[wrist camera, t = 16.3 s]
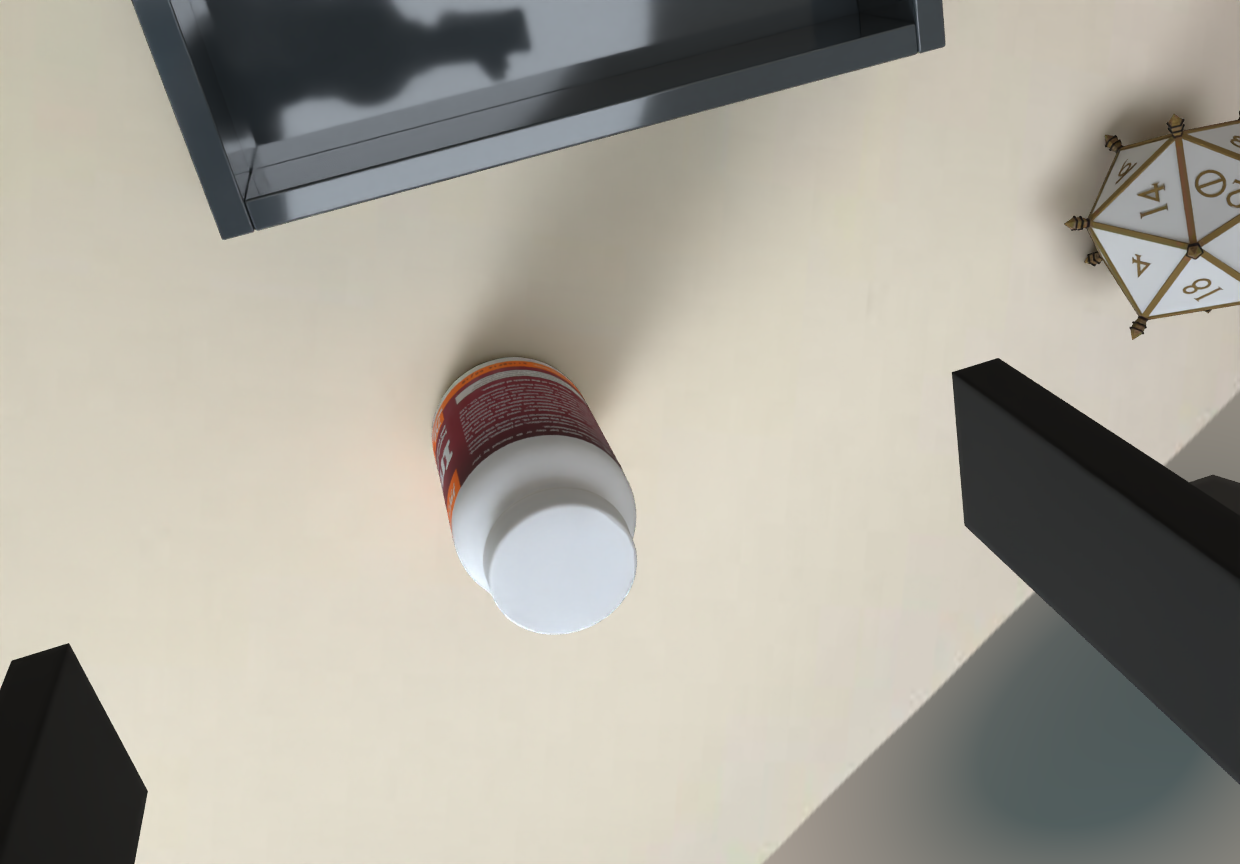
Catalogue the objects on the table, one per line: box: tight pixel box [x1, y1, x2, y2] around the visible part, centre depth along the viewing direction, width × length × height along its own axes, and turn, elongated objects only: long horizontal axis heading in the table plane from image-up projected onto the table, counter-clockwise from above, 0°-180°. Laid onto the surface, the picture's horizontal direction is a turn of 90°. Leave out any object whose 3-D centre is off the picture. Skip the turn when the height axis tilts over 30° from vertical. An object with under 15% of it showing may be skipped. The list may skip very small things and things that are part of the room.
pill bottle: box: [432, 357, 637, 634], centre depth 40 cm, size 6×6×11 cm
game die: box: [1064, 111, 1240, 340], centre depth 44 cm, size 9×8×10 cm
